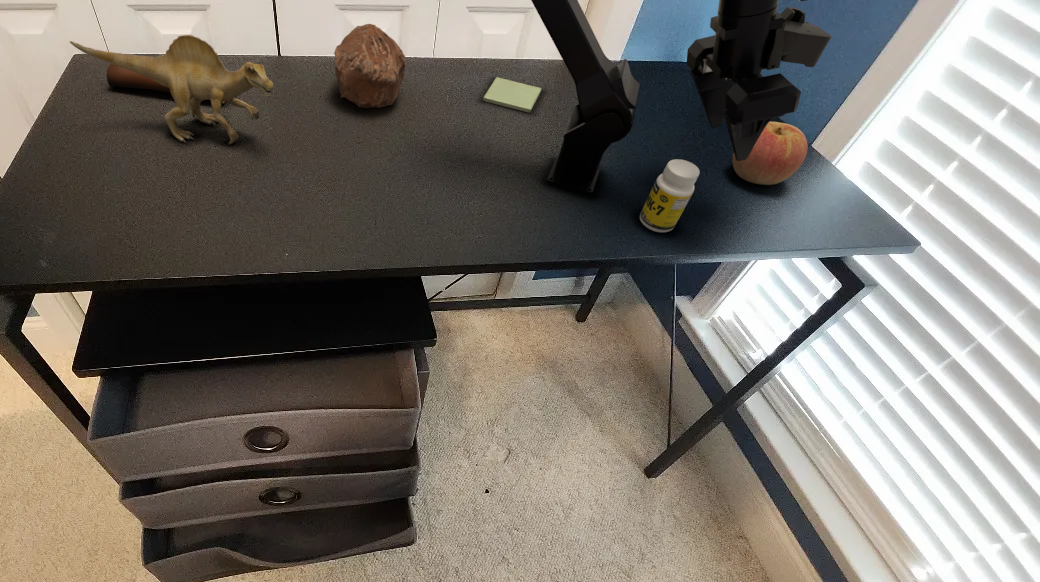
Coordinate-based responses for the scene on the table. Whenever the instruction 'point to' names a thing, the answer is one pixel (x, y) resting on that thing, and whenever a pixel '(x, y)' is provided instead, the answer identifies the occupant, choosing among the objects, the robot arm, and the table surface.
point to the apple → (773, 155)
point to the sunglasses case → (132, 79)
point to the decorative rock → (369, 67)
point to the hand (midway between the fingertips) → (728, 142)
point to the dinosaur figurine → (193, 80)
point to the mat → (512, 94)
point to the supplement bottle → (669, 196)
